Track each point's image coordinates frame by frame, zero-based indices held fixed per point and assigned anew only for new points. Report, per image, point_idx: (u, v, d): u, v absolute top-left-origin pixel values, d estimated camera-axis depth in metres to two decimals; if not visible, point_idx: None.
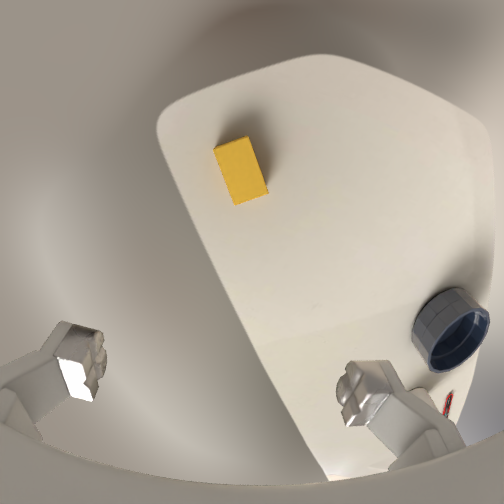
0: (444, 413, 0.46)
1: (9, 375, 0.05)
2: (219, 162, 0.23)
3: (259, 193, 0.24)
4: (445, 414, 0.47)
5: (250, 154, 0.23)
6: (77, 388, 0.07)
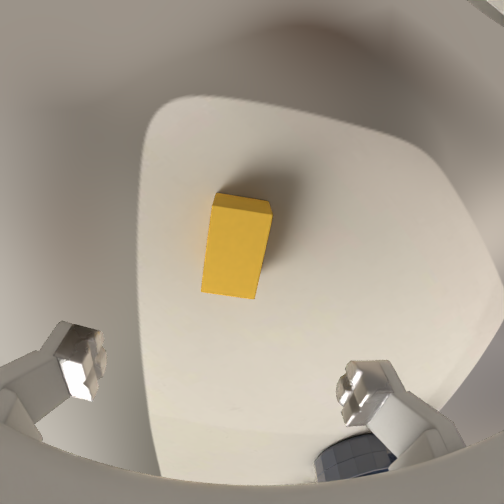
0: None
1: (9, 375, 0.05)
2: (211, 228, 0.15)
3: (242, 294, 0.16)
4: None
5: (260, 240, 0.15)
6: (77, 388, 0.07)
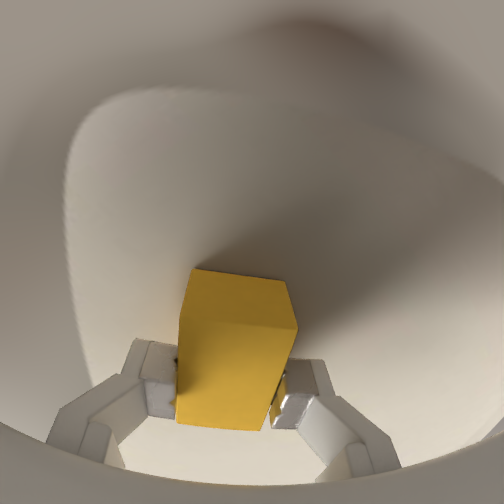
0: None
1: (93, 406, 0.05)
2: (182, 350, 0.08)
3: (241, 426, 0.09)
4: None
5: (273, 367, 0.08)
6: (159, 408, 0.07)
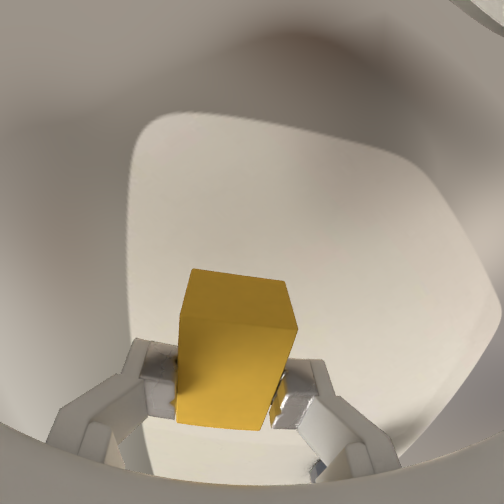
0: None
1: (93, 406, 0.05)
2: (182, 350, 0.08)
3: (240, 426, 0.09)
4: None
5: (273, 366, 0.08)
6: (159, 408, 0.07)
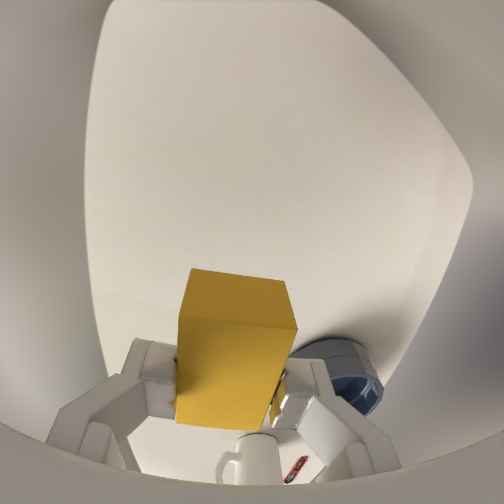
0: (291, 473, 0.44)
1: (93, 405, 0.05)
2: (181, 350, 0.08)
3: (240, 426, 0.09)
4: (292, 475, 0.45)
5: (272, 367, 0.08)
6: (159, 408, 0.07)
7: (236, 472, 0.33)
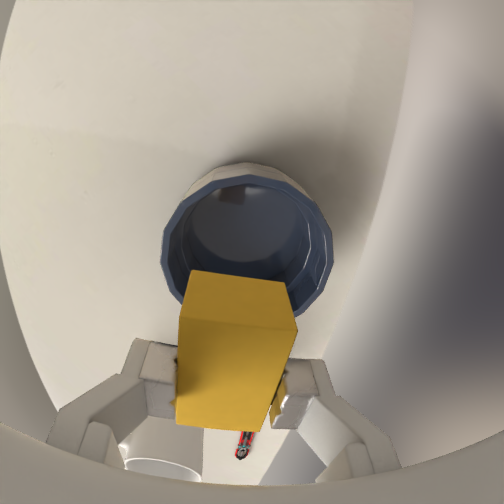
0: (241, 443, 0.36)
1: (93, 406, 0.05)
2: (182, 351, 0.08)
3: (240, 427, 0.09)
4: (243, 446, 0.36)
5: (272, 368, 0.08)
6: (159, 408, 0.07)
7: None
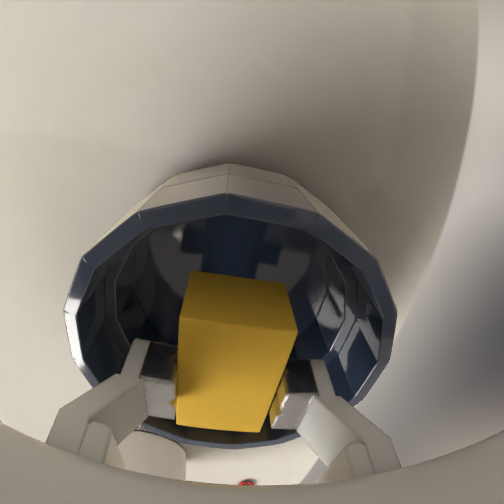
0: None
1: (93, 405, 0.05)
2: (182, 352, 0.08)
3: (240, 428, 0.09)
4: None
5: (272, 369, 0.08)
6: (159, 408, 0.07)
7: None
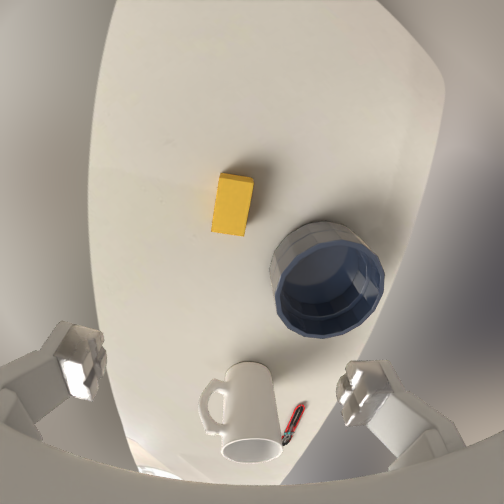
0: (287, 430, 0.44)
1: (9, 375, 0.05)
2: (218, 190, 0.25)
3: (236, 232, 0.27)
4: (288, 432, 0.44)
5: (247, 198, 0.26)
6: (77, 388, 0.07)
7: (224, 404, 0.32)
